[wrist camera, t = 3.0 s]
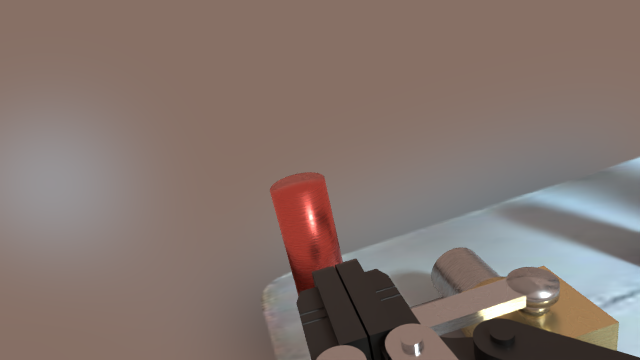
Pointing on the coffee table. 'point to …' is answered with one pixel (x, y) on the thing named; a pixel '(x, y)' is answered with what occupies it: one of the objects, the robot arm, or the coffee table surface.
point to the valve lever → (441, 316)
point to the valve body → (562, 318)
